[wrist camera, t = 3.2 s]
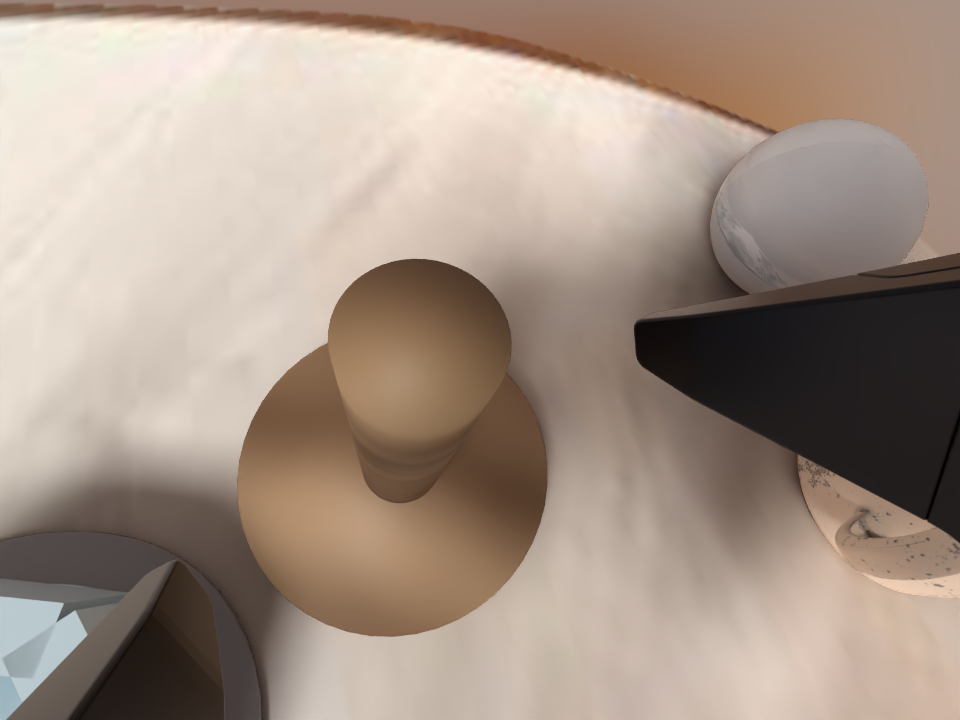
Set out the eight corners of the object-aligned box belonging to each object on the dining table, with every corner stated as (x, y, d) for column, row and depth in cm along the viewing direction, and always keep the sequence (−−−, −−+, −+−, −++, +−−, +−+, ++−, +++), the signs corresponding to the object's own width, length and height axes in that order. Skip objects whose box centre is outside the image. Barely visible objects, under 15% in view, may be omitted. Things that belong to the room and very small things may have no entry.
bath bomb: (721, 350, 23) (877, 254, 16) (652, 215, 25) (759, 78, 18) (843, 317, 25) (1029, 220, 18) (768, 196, 28) (905, 67, 20)
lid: (529, 648, 17) (796, 819, 6) (200, 613, 15) (-249, 749, 5) (547, 361, 21) (720, 153, 10) (292, 315, 20) (176, 18, 9)
